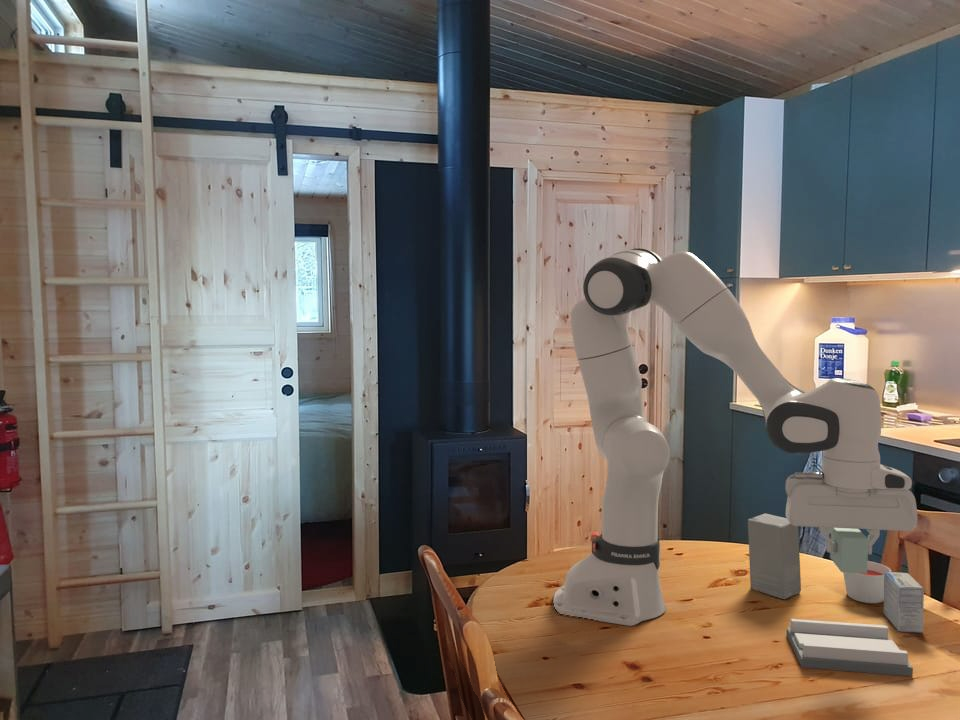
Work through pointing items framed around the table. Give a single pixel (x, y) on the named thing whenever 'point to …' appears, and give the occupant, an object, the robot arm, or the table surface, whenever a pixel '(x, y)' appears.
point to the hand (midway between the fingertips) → (848, 552)
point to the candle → (867, 584)
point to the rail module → (850, 550)
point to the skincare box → (774, 556)
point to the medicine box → (903, 602)
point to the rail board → (847, 647)
